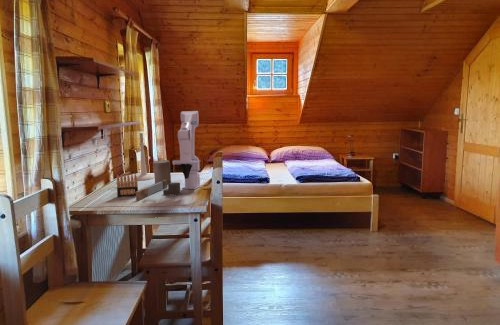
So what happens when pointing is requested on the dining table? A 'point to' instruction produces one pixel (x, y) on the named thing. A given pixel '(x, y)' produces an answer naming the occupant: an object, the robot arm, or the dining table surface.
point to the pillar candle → (162, 171)
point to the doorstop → (172, 189)
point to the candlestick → (143, 163)
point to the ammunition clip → (127, 186)
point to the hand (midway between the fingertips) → (186, 178)
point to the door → (155, 188)
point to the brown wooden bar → (144, 192)
